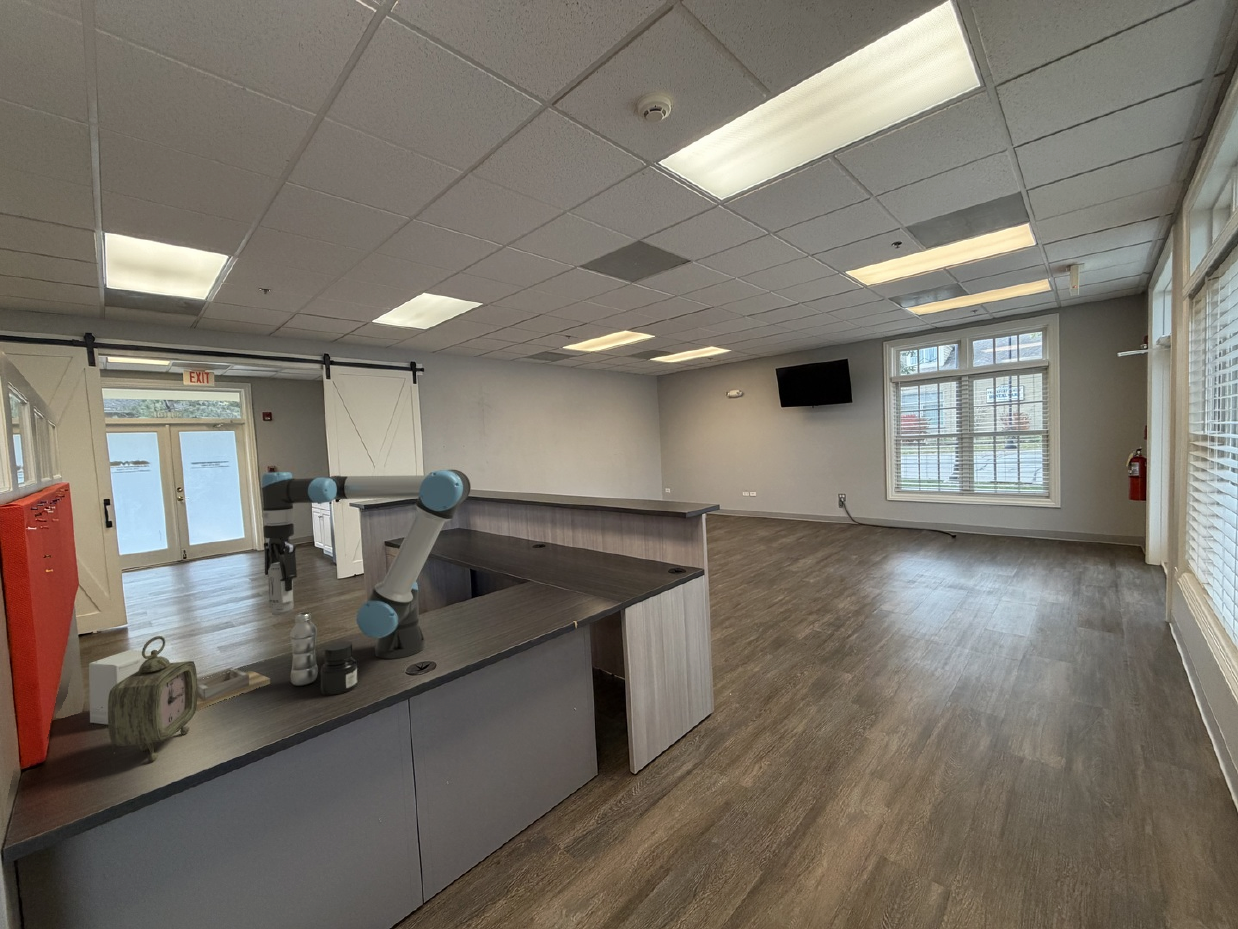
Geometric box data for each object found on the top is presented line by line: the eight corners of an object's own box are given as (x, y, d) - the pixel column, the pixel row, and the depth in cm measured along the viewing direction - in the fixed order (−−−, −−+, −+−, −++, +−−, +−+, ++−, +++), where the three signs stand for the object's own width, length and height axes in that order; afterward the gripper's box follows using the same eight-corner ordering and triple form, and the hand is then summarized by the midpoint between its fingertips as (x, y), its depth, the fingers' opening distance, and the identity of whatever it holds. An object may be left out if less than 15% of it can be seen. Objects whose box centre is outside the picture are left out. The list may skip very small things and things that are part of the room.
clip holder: (270, 683, 143) (269, 668, 143) (182, 716, 125) (181, 698, 125) (251, 675, 148) (250, 660, 148) (164, 705, 131) (163, 688, 131)
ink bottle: (357, 691, 137) (356, 648, 137) (320, 699, 133) (319, 655, 133) (356, 677, 146) (355, 637, 145) (321, 685, 141) (320, 643, 141)
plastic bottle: (287, 683, 142) (285, 614, 142) (314, 675, 147) (312, 608, 147) (294, 691, 138) (292, 619, 138) (321, 682, 143) (319, 613, 143)
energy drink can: (266, 614, 149) (264, 564, 149) (288, 608, 154) (286, 560, 154) (274, 617, 146) (273, 566, 146) (297, 611, 151) (295, 562, 151)
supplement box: (117, 727, 121) (115, 665, 120) (88, 723, 122) (86, 663, 122) (158, 708, 130) (156, 651, 129) (131, 705, 131) (129, 649, 131)
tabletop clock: (156, 765, 105) (152, 648, 105) (105, 772, 103) (101, 652, 103) (198, 728, 119) (195, 625, 119) (154, 733, 117) (150, 628, 117)
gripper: (248, 523, 151) (251, 599, 152) (281, 527, 142) (284, 607, 142) (275, 520, 158) (278, 593, 158) (309, 523, 148) (311, 600, 149)
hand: (281, 600), depth 150 cm, fingers closed on energy drink can, 6 cm apart
